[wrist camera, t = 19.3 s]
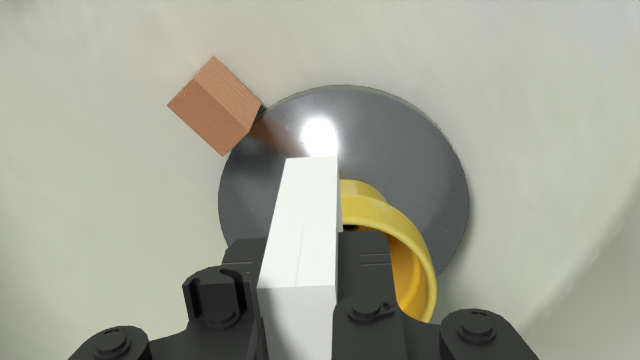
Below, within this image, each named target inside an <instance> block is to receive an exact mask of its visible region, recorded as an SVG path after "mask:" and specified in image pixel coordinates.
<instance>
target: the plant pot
mask: <svg viewBox="0 0 640 360" xmlns="http://www.w3.org/2000/svg"><path fill="white" fill-rule="evenodd" d="M339 182H340V195H341V209H342V223H343V225H357V226H356V227H355V228H354V229H352V230H345V229H343V232H351V231H370V230H379V231H380V232H381V233H382V234H383V235H384V236H385V237H386V238H387V239H388V242H389V249H390V256H391V265H392V270H393V278H394V285H395V292H396V299H397V303H398V305H399V307H400V308H401V310H402V311H403V312H404V313H406V314H407V315H408V316H410V317H412V318H414V319H416V320H418V321H422V322H426V323H429V322H430V320H431V318H432V316H433V313H434V310H435V307H436V302H437V294H438V293H437V280H436V275H435V271H434V267H433V264H432V260H431V257H430V254H429V252H428V249H427V246H426V244H425V242H424V240H423V238H422V236H421V234H420V232H419V231H418V229H417V228H416V226H415V225H414V224H413V223H412V222H411V221H410V220H409V219H408V218H407V217H406V216H405V215H404V214H403V213H401V212H400V211H398V210H397V209H396V208H394V207H392V206H390V205H389V203H388V202H387V201H386V199H385V198H384V196H383V195H382V194H381V193H380V192H379V191H378V190H376V189H375V188H374V187H372V186H370V185H369V184H366V183H364V182H360V181H357V180H350V179H342V180H339Z"/></svg>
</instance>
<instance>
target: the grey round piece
mask: <svg viewBox="0 0 640 360" xmlns="http://www.w3.org/2000/svg"><path fill="white" fill-rule="evenodd" d="M261 103H262V102H261V101H260V100H258V99H257V98H256V97H255V96H254V95H253V94H252V93H251V92H250V91H249V90H248V89H247V88H246V87H245V86H244V85H243V84H242V83H241V82H240V81H239V80H238V79H237V78H236V77H235V76H234V75H233V74H232V73H231V72H230V71H229V70H228V69H227V68H226V67H225V66H224V65H223V64H222V63H221V62H220V61H219V60H218V59H217V58H216V57H215V56H213V57H212V58H211V59H210V60H209V61H208V62H207V63H206V64H205V65H204V66H203V67H202V68H201V69H200V70H199V71H198V72H197V73H196V74H195V75H194V76H193V77H192V78H191V79H190V80H189V81H188V83H187V84H186V85H185V86H184V87H183V88H182V89H181V90H180V91H179V92H178V94H177V95H176V96H175V97H174V98H173V99H172V100H171V101H170V102H169V103H168V104H167V106H168V107H169V108H170V109H171V110H172V111H173V112H174V113H175V114H176V115H178V116H179V117H180V118H181V119H182V120H183V121H184V122H185V123H186V124H187V125H188V126H190V127H191V128H192V129H193V130H194V131H195V132H196V133H197V134H198V135H199V136H200V137H201V138H203V139H204V140H205V141H206V142H207V143H208V144H209V145H210V146H211V147H212V148H213V149H215V150H216V151H217V152H218V153H219V154H220V155H221V156H222V157H223V156H224V155H225V154H226V153H227V152H228V151H229V150H230V149H231V148H232V147H233V146H234V147H233V149H232V151H231V154H230V156H229V158H228V160H227V162H226V164H225V167H224V170H223V173H222V176H221V180H220V186H219V192H218V211H219V219H220V224H221V228H222V232H223V235H224V238H225V240H226V242H227V245H228V247H230V246H231V245H232V244H233V243H234V242H235V241H236V240H237V239H246V238H265V237H268V236H269V232H270V227H271V223H272V219H273V214H274V210H275V205H276V201H277V197H278V192H279V188H280V184H281V179H282V175H283V170H284V166H285V162H286V158H300V157H317V156H333V155H338V168H339V180H342V179H350V180H357V181H360V182H364V183H366V184H369V185H370V186H372V187H374V188H375V189H376V190H378V191H379V192H380V193H381V194H382V195H383V196H384V198H385V199H386V201H387V202H388V203H389V205H390V206H392V207H394V208H396V209H397V210H398V211H400V212H401V213H403V214H404V215H405V216H406V217H407V218H408V219H409V220H410V221H411V222H412V223H413V224H414V225H415V226H416V228H417V229H418V231H419V232H420V234H421V236H422V238H423V240H424V242H425V244H426V246H427V249H428V252H429V254H430V257H431V260H432V264H433V267H434V271H435V275H436V277H437V276H438V275H439V274H440V273H441V272H442V271H443V270H444V268H445V267H446V266H447V264H448V263H449V262H450V260H451V259H452V257H453V256H454V254H455V252H456V250H457V248H458V246H459V244H460V242H461V239H462V236H463V233H464V231H465V226H466V221H467V217H468V190H467V184H466V180H465V176H464V172H463V169H462V167H461V164H460V162H459V159H458V157H457V155H456V153H455V151H454V149H453V147H452V145H451V144H450V142H449V140H448V138H447V137H446V135H445V134H444V133H443V132H442V130H441V129H440V128H439V127H438V125H437V124H436V123H435V122H434V121H433V120H431V119H430V118H429V117H428V116H427V115H426V114H425V113H424V112H422V111H421V110H420V109H418V108H417V107H415V106H414V105H413V104H411V103H409V102H407V101H405V100H403V99H401V98H400V97H398V96H395V95H393V94H390V93H387V92H384V91H382V90H378V89H373V88H369V87H364V86H354V85H329V86H323V87H317V88H312V89H309V90H305V91H302V92H299V93H296V94H293V95H291V96H289V97H287V98H284V99H282V100H280V101H279V102H277V103H276V104H274V105H272V106H271V107H269V108H267V109H266V110H265V111H264V112H263V113H261V114H260V115H259V116H258V117H257V118H255V117H256V115H257V112H258V110H259V107H260V105H261ZM356 226H357V225H343V229H345V230H352V229H354V228H355V227H356Z"/></svg>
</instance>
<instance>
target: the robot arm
mask: <svg viewBox="0 0 640 360" xmlns="http://www.w3.org/2000/svg"><path fill="white" fill-rule="evenodd" d="M182 288H183V293H184V298H185V303H186V307H187V312H188V317H189V322H188V325H187V328H186V330H184V331H182V332H180V333H177V334H174V335H171V336H168V337H164V338H160V339H156V340H152V341H148V337H147V334H146V333H145V332H144V331H143V330H142V329H140V328H137V327H134V326H117V327H113V328H109V329H105V330H103V331H101V332H99V333H97V334H95V335H93V336H92V337H90V338H89V339H88V340H87V341H85V342H84V343H83V344H82V345H81V346H80V347H79V348H78V349H77V350H76V351H75V352H74V354H73V355H72V356H71V357H70V358H69V359H68V360H539V359H538V357H537V356H536V355H535V354H534V352H533V351H532V350H531V349H530V347H529V346H528V345H527V344H526V342H525V341H524V340H523V339H522V338H521V336H520V335H519V334H518V333H517V331H516V330H515V329H514V328H513V326H512V325H511V324H510V323H509V322H508V321H506V320H505V319H504V318H503V317H502V316H500V315H497V314H495V313H493V312H490V311H487V310H481V309H461V310H459V311H456V312H453V313H450V314H449V315H448V316H447V317H445V318H444V319H443V320H442V322H441V325H436V324H430V323H426V322H422V321H418V320H416V319H414V318H412V317H410V316H408V315H407V314H406V313H404V312H403V311H402V310H401V308H400V307H399V305H398V303H397V299H396V292H395V285H394V278H393V270H392V265H391V256H390V249H389V242H388V239H387V238H386V237H385V236H384V235H383V234H382V233H381V232H380V231H379V230H370V231H351V232H343V223H342V209H341V195H340V182H339V168H338V155H333V156H317V157H300V158H286V162H285V166H284V170H283V175H282V179H281V184H280V188H279V192H278V197H277V201H276V205H275V210H274V214H273V219H272V223H271V227H270V232H269V236H268V237H265V238H246V239H237V240H236V241H235V242H234V243H233V244H232V245H231V246H230V247H229V248H228V249H227V250H226V252H225V255H224V257H223V260H222V265H220V266H214V267H208V268H206V269H203V270H200V271H198V272H196V273H194V274H193V275H191V276H190V277H188V278H187V279H186V281H185V282H184V283H183V285H182Z"/></svg>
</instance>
